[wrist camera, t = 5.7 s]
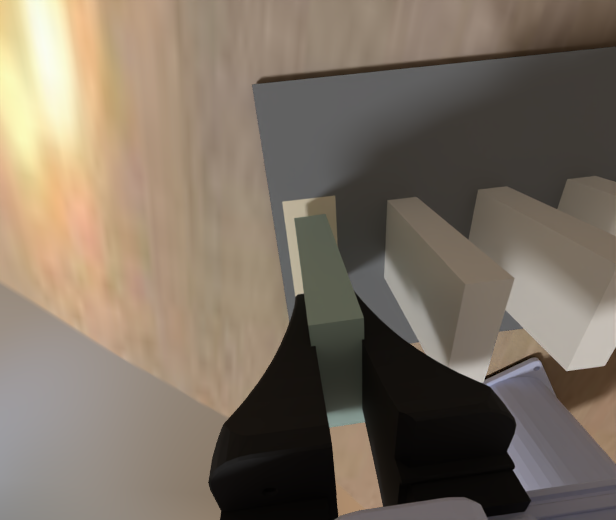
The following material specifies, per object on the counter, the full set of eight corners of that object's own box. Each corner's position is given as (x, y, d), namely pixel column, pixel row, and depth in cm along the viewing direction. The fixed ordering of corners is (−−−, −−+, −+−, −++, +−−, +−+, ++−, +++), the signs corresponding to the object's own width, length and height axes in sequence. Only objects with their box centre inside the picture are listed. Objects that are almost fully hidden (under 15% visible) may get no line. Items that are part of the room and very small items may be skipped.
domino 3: (506, 186, 17) (666, 259, 10) (488, 264, 19) (604, 365, 12) (477, 189, 17) (617, 265, 10) (463, 267, 19) (566, 371, 12)
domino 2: (416, 196, 17) (514, 278, 10) (409, 274, 19) (483, 382, 12) (387, 200, 17) (465, 284, 10) (384, 277, 19) (444, 387, 12)
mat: (764, 31, 15) (776, 29, 14) (615, 312, 23) (620, 315, 23) (252, 84, 14) (251, 84, 13) (294, 354, 22) (295, 358, 22)
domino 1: (325, 213, 16) (363, 317, 9) (332, 292, 18) (366, 422, 11) (294, 218, 16) (308, 326, 9) (305, 296, 18) (322, 428, 11)
